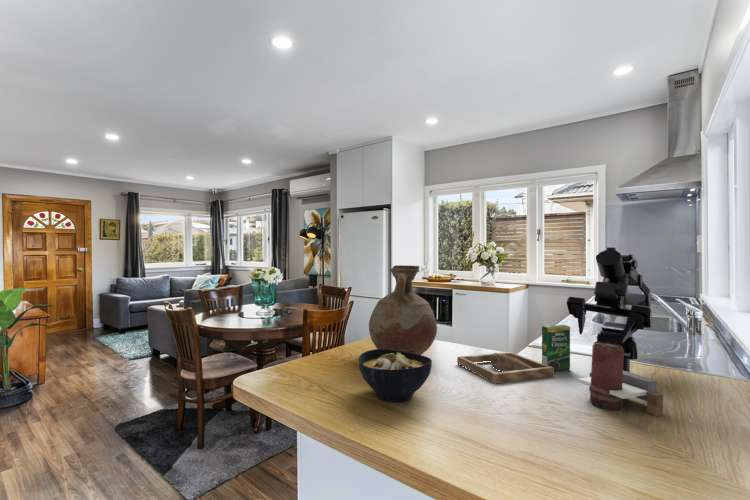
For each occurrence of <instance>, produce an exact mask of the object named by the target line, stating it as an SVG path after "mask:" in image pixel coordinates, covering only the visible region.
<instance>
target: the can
mask: <svg viewBox="0 0 750 500" xmlns="http://www.w3.org/2000/svg"><path fill="white" fill-rule="evenodd" d="M593 342H594V343H593V344H592V351H591V352H592V353H591V369H590V370H591V371H590V373H591V389H590V390H589V391H590V393H589V401H590V402H591V404H592V405H594V406H596V407H598V408H601V409H604V410H610V411H617V410H620V408H622V401H623V399H622V398H619V397H617V396H614V395H611V394H610V390H613V391H618V390H622V382H623V360H624V350H623V348H622V346H621V345H619V344H615V343H610V342H602V341H597V340H596V341H593Z"/></svg>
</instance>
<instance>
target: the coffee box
mask: <svg viewBox="0 0 750 500" xmlns="http://www.w3.org/2000/svg"><path fill="white" fill-rule="evenodd" d="M541 363H543V364H545V365H548V366H551V367H554V371H567V370H568V371H569V370H571V326H570V325H566V324H558V325H542V327H541Z"/></svg>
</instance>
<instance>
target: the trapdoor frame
mask: <svg viewBox="0 0 750 500" xmlns="http://www.w3.org/2000/svg"><path fill="white" fill-rule="evenodd" d="M589 377H591V372H589ZM588 387H589V388H588V390H589V391H590V389H591V387H590V386H588ZM646 413H647V414H650V415H652V416H655V417H660V416H663V414H664V394H662V393H659V392H657V393H656V392H647V401H646Z"/></svg>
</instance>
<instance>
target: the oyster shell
mask: <svg viewBox="0 0 750 500" xmlns="http://www.w3.org/2000/svg"><path fill="white" fill-rule="evenodd" d="M499 353H500V352H492V353H490V354H491V355H490V357H491V363H490V364H491V366H493V367H494V368H495V369H497V370H500V371H503V372H506V371H514V370H523V369H532V368H533V367H532V366H530V365H527V364H525V363H523V362H521V361H520V360H518V359H516V358H514V357H512V356H511V355H508V356H507V355H505V354H499ZM495 369H494V370H495ZM497 370H496V371H497ZM500 371H499V372H500Z"/></svg>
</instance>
